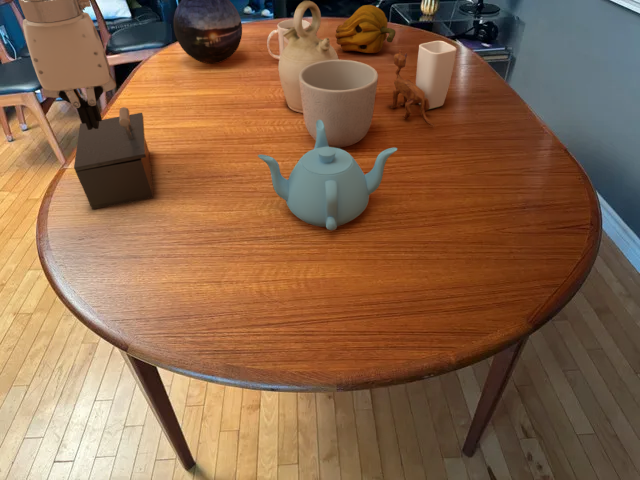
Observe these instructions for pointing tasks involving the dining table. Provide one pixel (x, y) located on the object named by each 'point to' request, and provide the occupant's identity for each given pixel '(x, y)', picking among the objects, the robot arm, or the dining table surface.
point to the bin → (118, 182)
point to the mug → (282, 40)
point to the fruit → (364, 31)
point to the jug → (302, 53)
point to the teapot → (327, 183)
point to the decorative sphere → (208, 29)
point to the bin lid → (111, 141)
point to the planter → (338, 99)
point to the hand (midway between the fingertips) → (93, 125)
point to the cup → (435, 71)
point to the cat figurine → (408, 91)
